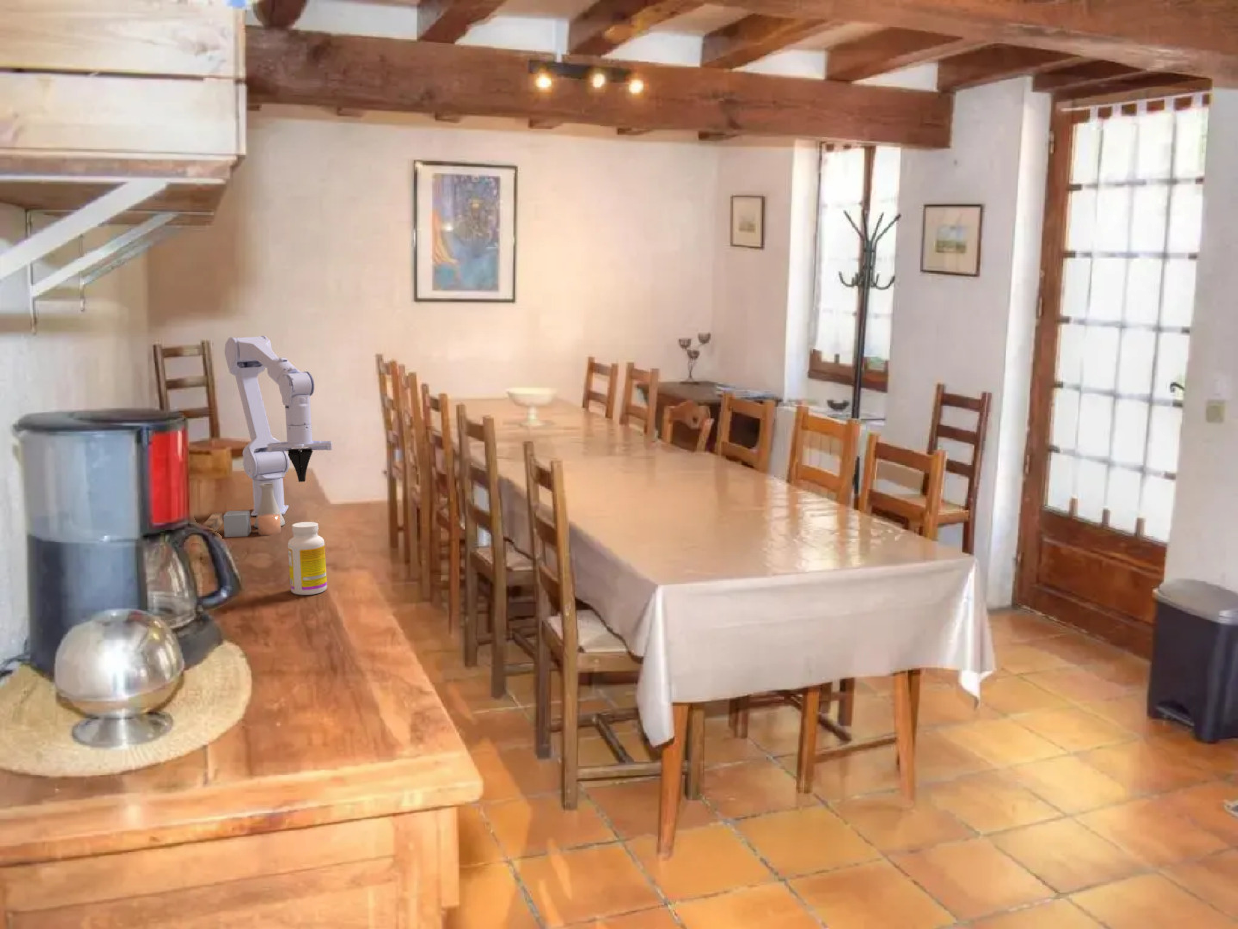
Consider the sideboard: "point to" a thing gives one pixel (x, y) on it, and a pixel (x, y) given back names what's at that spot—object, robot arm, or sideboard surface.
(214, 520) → the walnut rail
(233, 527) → the slate block
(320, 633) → the sideboard surface
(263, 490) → the flask
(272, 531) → the peach egg shape
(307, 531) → the supplement bottle
